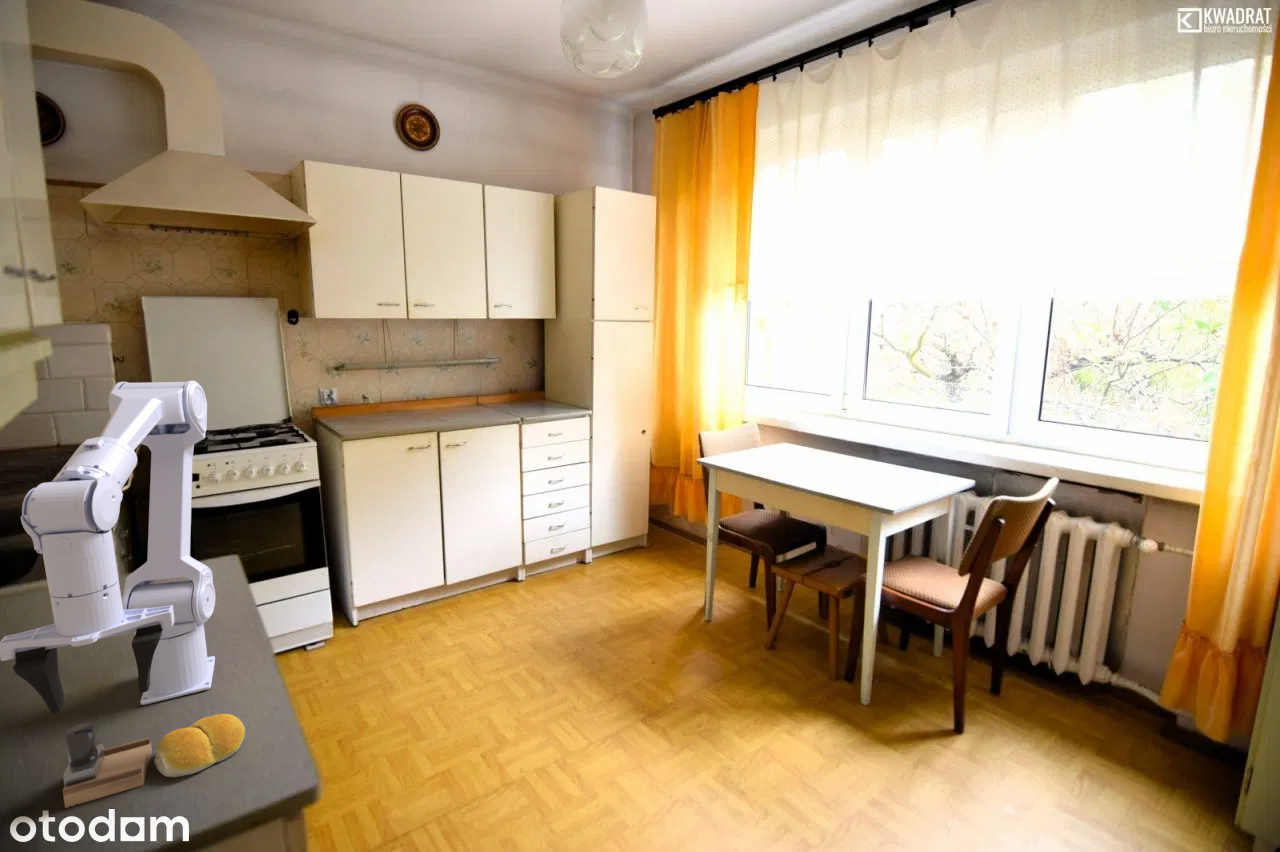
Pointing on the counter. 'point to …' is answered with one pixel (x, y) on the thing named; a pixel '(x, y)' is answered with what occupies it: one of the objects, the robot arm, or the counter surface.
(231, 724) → the bread roll
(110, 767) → the press bed
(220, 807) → the counter surface
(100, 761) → the jaw
